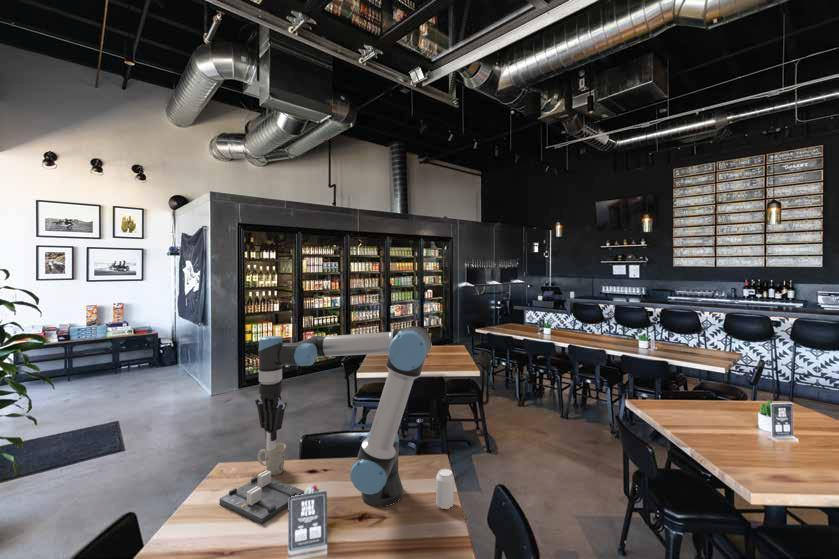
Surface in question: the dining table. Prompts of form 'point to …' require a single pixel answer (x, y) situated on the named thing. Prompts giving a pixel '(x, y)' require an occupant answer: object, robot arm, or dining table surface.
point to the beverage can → (444, 488)
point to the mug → (274, 458)
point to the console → (267, 507)
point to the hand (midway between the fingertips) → (271, 449)
